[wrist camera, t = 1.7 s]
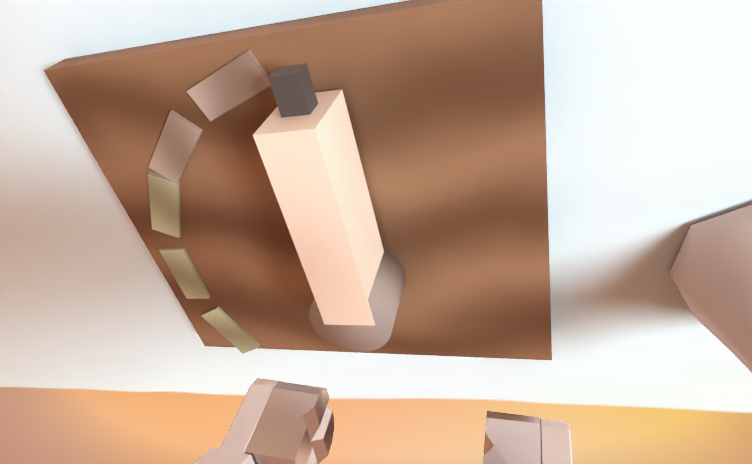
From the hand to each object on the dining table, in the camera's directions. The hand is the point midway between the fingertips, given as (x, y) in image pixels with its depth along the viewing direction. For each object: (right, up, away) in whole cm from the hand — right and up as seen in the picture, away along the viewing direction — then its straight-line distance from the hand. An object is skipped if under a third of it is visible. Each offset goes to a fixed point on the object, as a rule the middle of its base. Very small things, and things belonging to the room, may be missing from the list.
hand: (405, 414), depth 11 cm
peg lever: (-2, +5, +14) cm, 15 cm away
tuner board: (-3, +5, +17) cm, 18 cm away
